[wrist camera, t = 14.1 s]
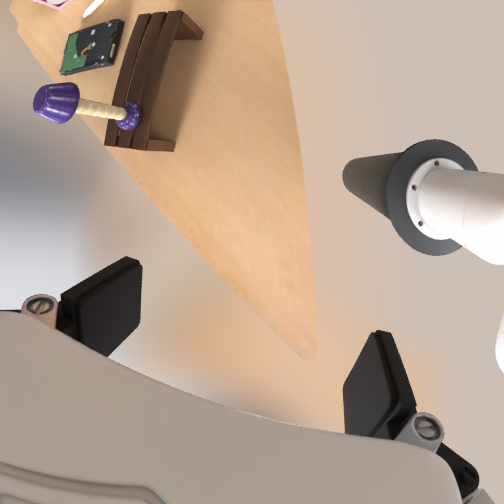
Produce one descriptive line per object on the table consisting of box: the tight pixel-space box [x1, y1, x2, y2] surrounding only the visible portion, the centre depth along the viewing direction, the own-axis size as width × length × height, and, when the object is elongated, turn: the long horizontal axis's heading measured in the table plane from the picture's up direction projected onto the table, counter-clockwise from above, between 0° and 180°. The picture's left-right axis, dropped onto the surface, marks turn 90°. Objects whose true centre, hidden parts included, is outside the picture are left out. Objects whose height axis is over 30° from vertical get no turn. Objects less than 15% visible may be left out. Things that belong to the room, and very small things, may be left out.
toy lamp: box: [33, 82, 142, 130], centre depth 26 cm, size 5×5×17 cm
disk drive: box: [60, 19, 125, 76], centre depth 39 cm, size 10×3×15 cm
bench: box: [104, 10, 204, 152], centre depth 36 cm, size 8×22×9 cm, turn 167°
